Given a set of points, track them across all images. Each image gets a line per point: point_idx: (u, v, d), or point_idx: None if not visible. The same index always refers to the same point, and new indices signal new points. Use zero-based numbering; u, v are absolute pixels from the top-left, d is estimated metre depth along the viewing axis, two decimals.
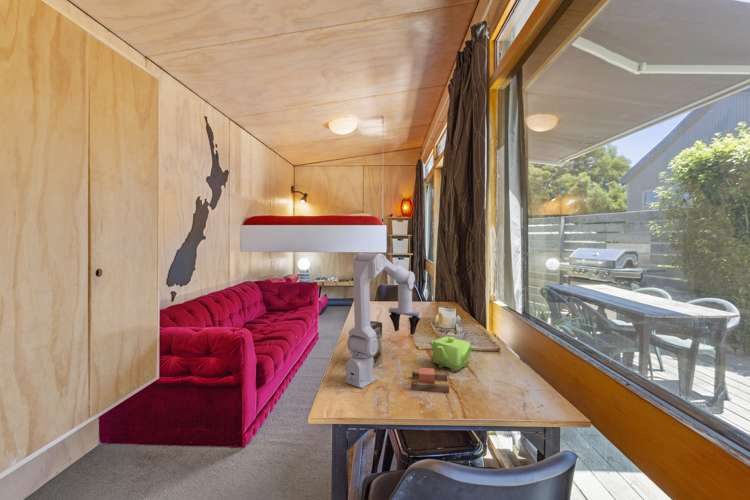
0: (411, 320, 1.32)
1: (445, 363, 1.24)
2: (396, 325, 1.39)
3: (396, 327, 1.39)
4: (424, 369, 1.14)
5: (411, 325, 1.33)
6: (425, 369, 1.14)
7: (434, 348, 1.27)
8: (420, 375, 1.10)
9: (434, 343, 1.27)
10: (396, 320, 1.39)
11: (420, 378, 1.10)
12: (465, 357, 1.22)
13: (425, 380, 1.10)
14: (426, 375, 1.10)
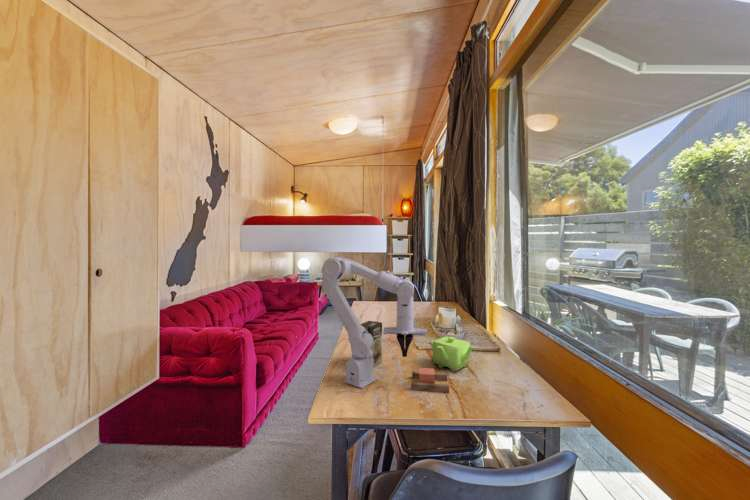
0: None
1: (445, 363, 1.24)
2: (405, 348, 1.13)
3: None
4: (424, 369, 1.14)
5: None
6: (425, 369, 1.14)
7: (434, 348, 1.27)
8: (420, 375, 1.10)
9: (434, 343, 1.27)
10: None
11: (420, 378, 1.10)
12: (465, 357, 1.22)
13: (425, 380, 1.10)
14: (426, 375, 1.10)
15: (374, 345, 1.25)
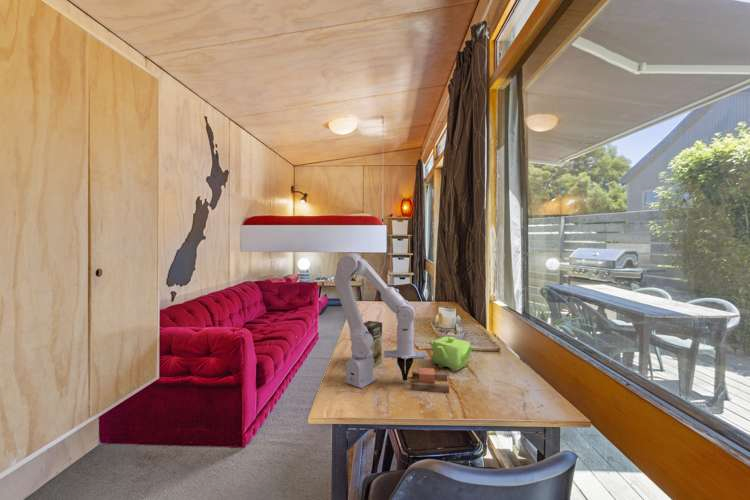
0: None
1: (445, 363, 1.24)
2: None
3: None
4: (424, 369, 1.14)
5: None
6: (425, 369, 1.14)
7: (434, 348, 1.27)
8: (420, 375, 1.10)
9: (434, 343, 1.27)
10: None
11: (420, 378, 1.10)
12: (465, 357, 1.22)
13: (425, 380, 1.10)
14: (426, 375, 1.10)
15: (374, 345, 1.25)
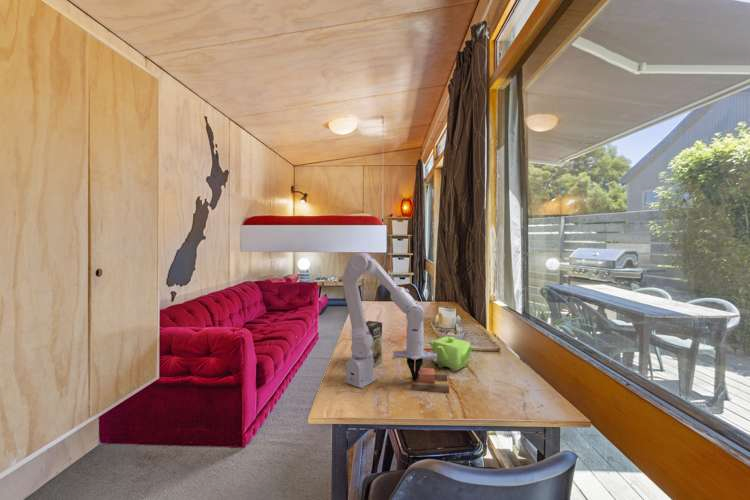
0: None
1: (445, 363, 1.24)
2: (415, 372, 1.13)
3: None
4: (424, 369, 1.14)
5: None
6: (425, 369, 1.14)
7: (434, 348, 1.27)
8: (420, 375, 1.10)
9: (434, 343, 1.27)
10: None
11: (420, 378, 1.10)
12: (465, 357, 1.22)
13: (425, 380, 1.10)
14: (426, 375, 1.10)
15: (374, 345, 1.25)
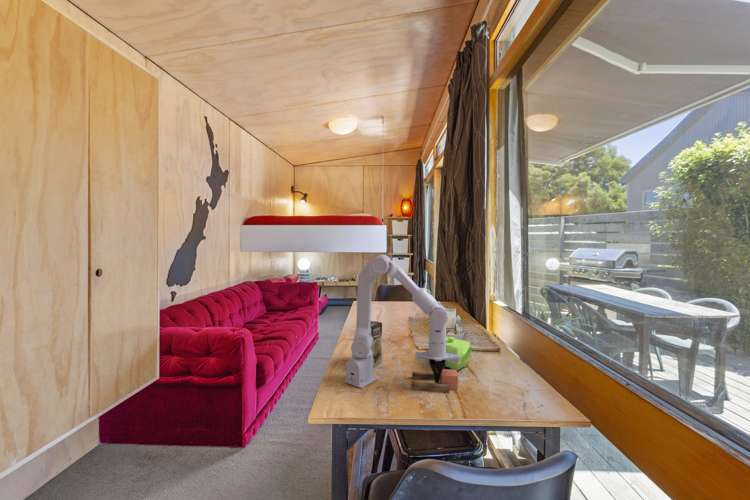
0: None
1: (445, 363, 1.24)
2: None
3: None
4: (446, 370, 1.13)
5: None
6: (447, 370, 1.13)
7: None
8: (443, 376, 1.09)
9: None
10: (437, 367, 1.12)
11: (443, 380, 1.09)
12: (465, 357, 1.22)
13: (448, 381, 1.09)
14: (449, 377, 1.09)
15: (374, 345, 1.25)
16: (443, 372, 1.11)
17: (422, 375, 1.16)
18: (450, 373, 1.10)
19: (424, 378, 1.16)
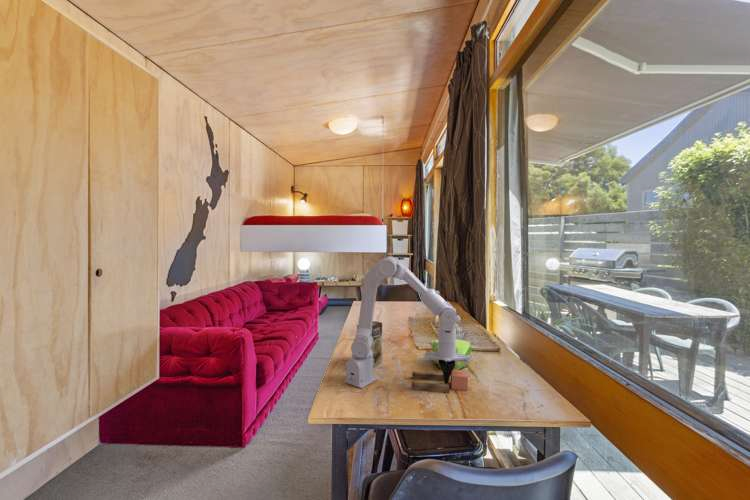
0: None
1: None
2: (446, 374, 1.12)
3: None
4: (456, 371, 1.12)
5: None
6: (457, 371, 1.12)
7: (434, 348, 1.27)
8: (453, 377, 1.09)
9: (434, 343, 1.27)
10: None
11: (453, 380, 1.09)
12: None
13: (458, 382, 1.08)
14: (459, 378, 1.08)
15: (374, 345, 1.25)
16: (453, 373, 1.11)
17: (422, 375, 1.16)
18: (460, 374, 1.10)
19: (424, 378, 1.16)
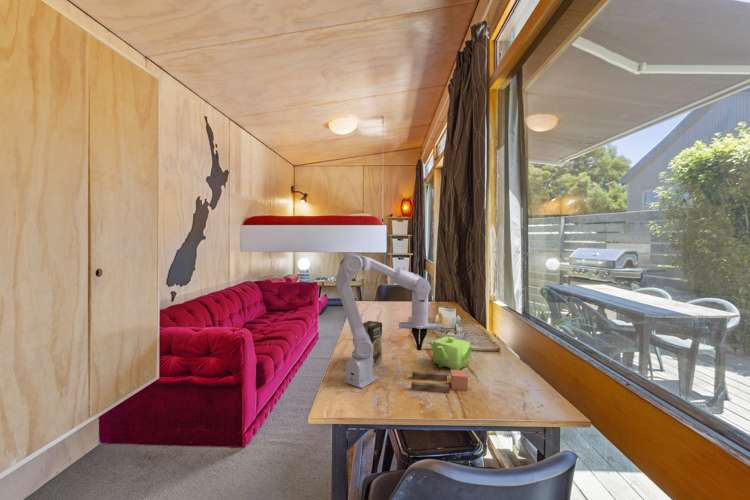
0: None
1: (445, 363, 1.24)
2: None
3: (419, 344, 1.18)
4: (456, 371, 1.12)
5: None
6: (457, 371, 1.12)
7: (434, 348, 1.27)
8: (453, 377, 1.09)
9: (434, 343, 1.27)
10: None
11: (453, 380, 1.09)
12: (465, 357, 1.22)
13: (458, 382, 1.08)
14: (459, 378, 1.08)
15: (374, 345, 1.25)
16: (453, 373, 1.11)
17: (422, 375, 1.16)
18: (460, 374, 1.10)
19: (424, 378, 1.16)
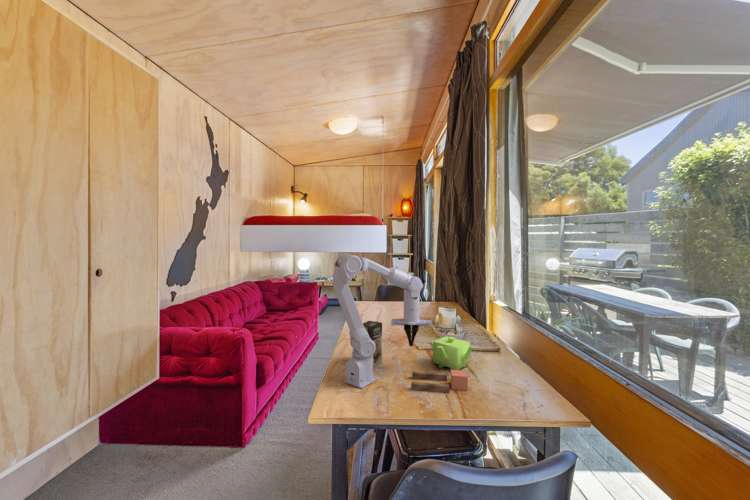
0: None
1: (445, 363, 1.24)
2: None
3: None
4: (456, 371, 1.12)
5: None
6: (457, 371, 1.12)
7: (434, 348, 1.27)
8: (453, 377, 1.09)
9: (434, 343, 1.27)
10: None
11: (453, 380, 1.09)
12: (465, 357, 1.22)
13: (458, 382, 1.08)
14: (459, 378, 1.08)
15: None
16: (453, 373, 1.11)
17: (422, 375, 1.16)
18: (460, 374, 1.10)
19: (424, 378, 1.16)
